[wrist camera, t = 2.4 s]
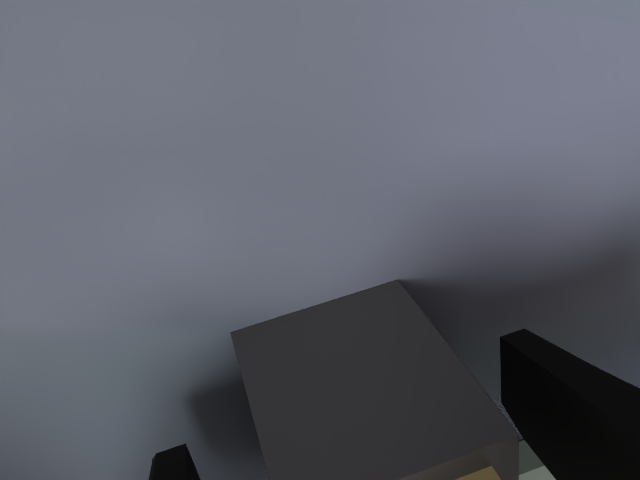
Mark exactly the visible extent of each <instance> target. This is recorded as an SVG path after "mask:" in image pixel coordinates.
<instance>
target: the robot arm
mask: <svg viewBox="0 0 640 480" xmlns="http://www.w3.org/2000/svg"><path fill="white" fill-rule="evenodd" d="M500 359H501V402H502V404H503V406H504V407H505V409H506V411H507V412H508V414H509V416H510V417H511V419H512V421H513V422H514V424H515V426H516V427H517V429H518V430H519V432H520V433H521V435H522V437H523V438H524V440H525V441H526V443H527V444H528V445H529V446H530V448H531V449H532V450H533V452H534V453H535V454H536V455H537V457H538V458H539V459H540V460H541V462H542V463H543V464H544V465H545V467H546V468H547V469H548V470H549V472H550V473H551V474H552V475H553V477H554V478H555V479H556V480H640V388H637V387H635V386H633V385H631V384H629V383H627V382H625V381H623V380H621V379H619V378H617V377H615V376H613V375H611V374H609V373H607V372H605V371H603V370H601V369H599V368H597V367H595V366H593V365H591V364H589V363H587V362H585V361H584V360H582V359H580V358H578V357H576V356H574V355H572V354H571V353H569V352H567V351H565V350H563V349H561V348H559V347H558V346H556V345H554V344H552V343H550V342H548V341H547V340H545V339H543V338H541V337H539V336H537V335H535V334H534V333H532V332H530V331H528V330H526V329H522V330H519V331H516V332H513V333H510V334H507V335H504V336H501V337H500ZM149 480H200V478H199V475H198V473H197V470H196V468H195V465H194V463H193V460H192V458H191V456H190V453H189V451H188V448H187V446H186V444H183V445H180V446H177V447H174V448H171V449H168V450H165V451H162V452H159V453H156V455H155V456H154V458H153V460H152V465H151V471H150V476H149Z"/></svg>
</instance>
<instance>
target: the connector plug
mask: <svg viewBox="0 0 640 480" xmlns="http://www.w3.org/2000/svg"><path fill="white" fill-rule="evenodd" d="M230 333H231V337H232V340H233V344H234V348H235V352H236V356H237V359H238V363H239V367H240V371H241V375H242V378H243V382H244V386H245V390H246V394H247V397H248V401H249V405H250V409H251V413H252V416H253V420H254V424H255V428H256V432H257V435H258V439H259V443H260V447H261V451H262V454H263V458H264V462H265V466H266V470H267V473H268V477H269V480H519V434H518V433H517V432H516V430H515V429H514V428H513V426H512V425H511V424H510V423H509V421H508V420H507V419H506V417H505V416H504V415H503V414H502V412H501V411H500V410H499V409H498V407H497V406H496V405H495V403H494V402H493V401H492V400H491V398H490V397H489V396H488V394H487V393H486V392H485V391H484V389H483V388H482V387H481V385H480V384H479V383H478V382H477V380H476V379H475V378H474V376H473V375H472V374H471V373H470V371H469V370H468V369H467V367H466V366H465V365H464V364H463V362H462V361H461V360H460V358H459V357H458V356H457V355H456V353H455V352H454V351H453V350H452V348H451V347H450V346H449V344H448V343H447V342H446V341H445V339H444V338H443V337H442V335H441V334H440V333H439V332H438V330H437V329H436V328H435V326H434V325H433V324H432V323H431V321H430V320H429V319H428V317H427V316H426V315H425V314H424V312H423V311H422V310H421V308H420V307H419V306H418V305H417V303H416V302H415V301H414V300H413V298H412V297H411V296H410V294H409V293H408V292H407V291H406V289H405V288H404V287H403V285H402V284H401V283H400V282H399V280H395V281H392V282H388V283H385V284H382V285H379V286H376V287H373V288H369V289H366V290H363V291H360V292H357V293H353V294H350V295H347V296H344V297H341V298H338V299H334V300H331V301H328V302H325V303H322V304H319V305H315V306H312V307H309V308H306V309H303V310H300V311H296V312H293V313H290V314H287V315H284V316H280V317H277V318H274V319H271V320H268V321H265V322H261V323H258V324H255V325H252V326H249V327H246V328H242V329H239V330H236V331H233V332H230Z"/></svg>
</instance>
